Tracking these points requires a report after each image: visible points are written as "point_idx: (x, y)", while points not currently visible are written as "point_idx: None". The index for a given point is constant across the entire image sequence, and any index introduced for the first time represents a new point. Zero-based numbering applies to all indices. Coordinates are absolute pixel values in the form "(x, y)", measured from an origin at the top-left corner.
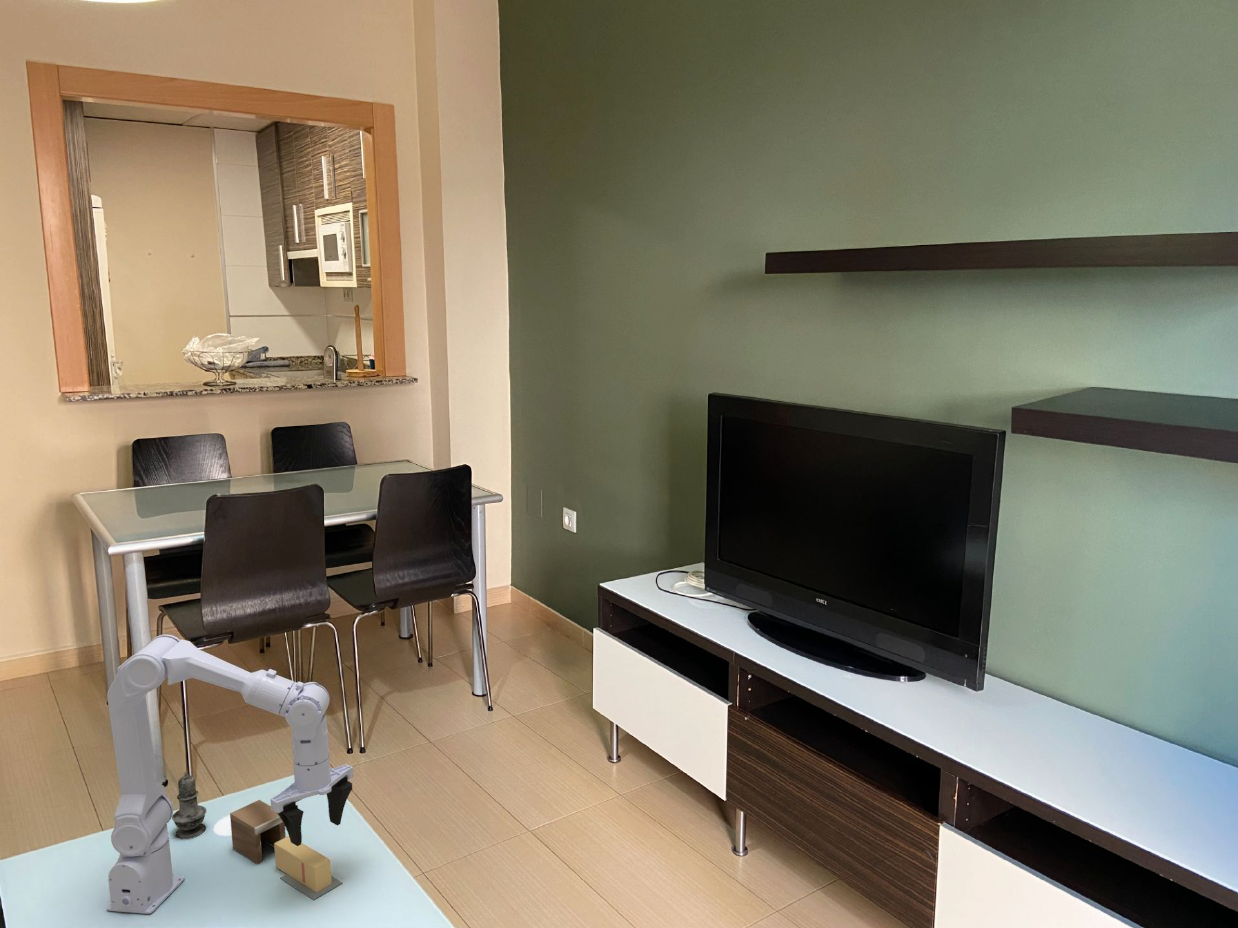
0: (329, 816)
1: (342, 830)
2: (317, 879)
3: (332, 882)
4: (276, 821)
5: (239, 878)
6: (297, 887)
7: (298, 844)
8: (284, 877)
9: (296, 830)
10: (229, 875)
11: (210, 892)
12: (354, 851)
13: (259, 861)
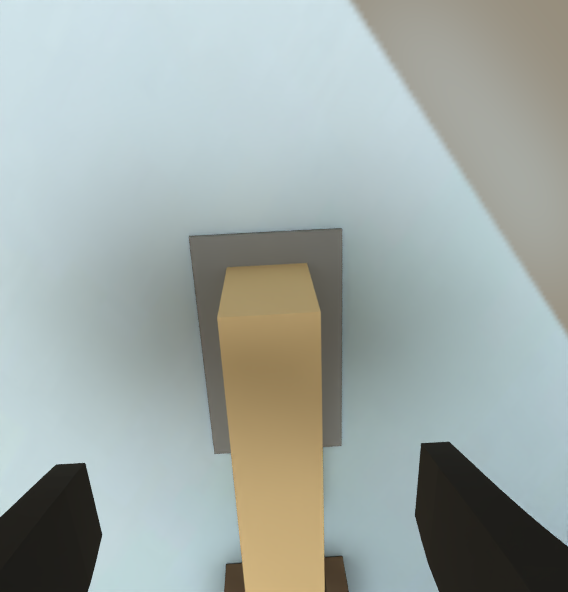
0: (91, 575)
1: None
2: (302, 283)
3: (220, 270)
4: None
5: None
6: (337, 348)
7: (450, 446)
8: (330, 435)
9: (561, 548)
10: None
11: None
12: (35, 390)
13: (333, 561)
